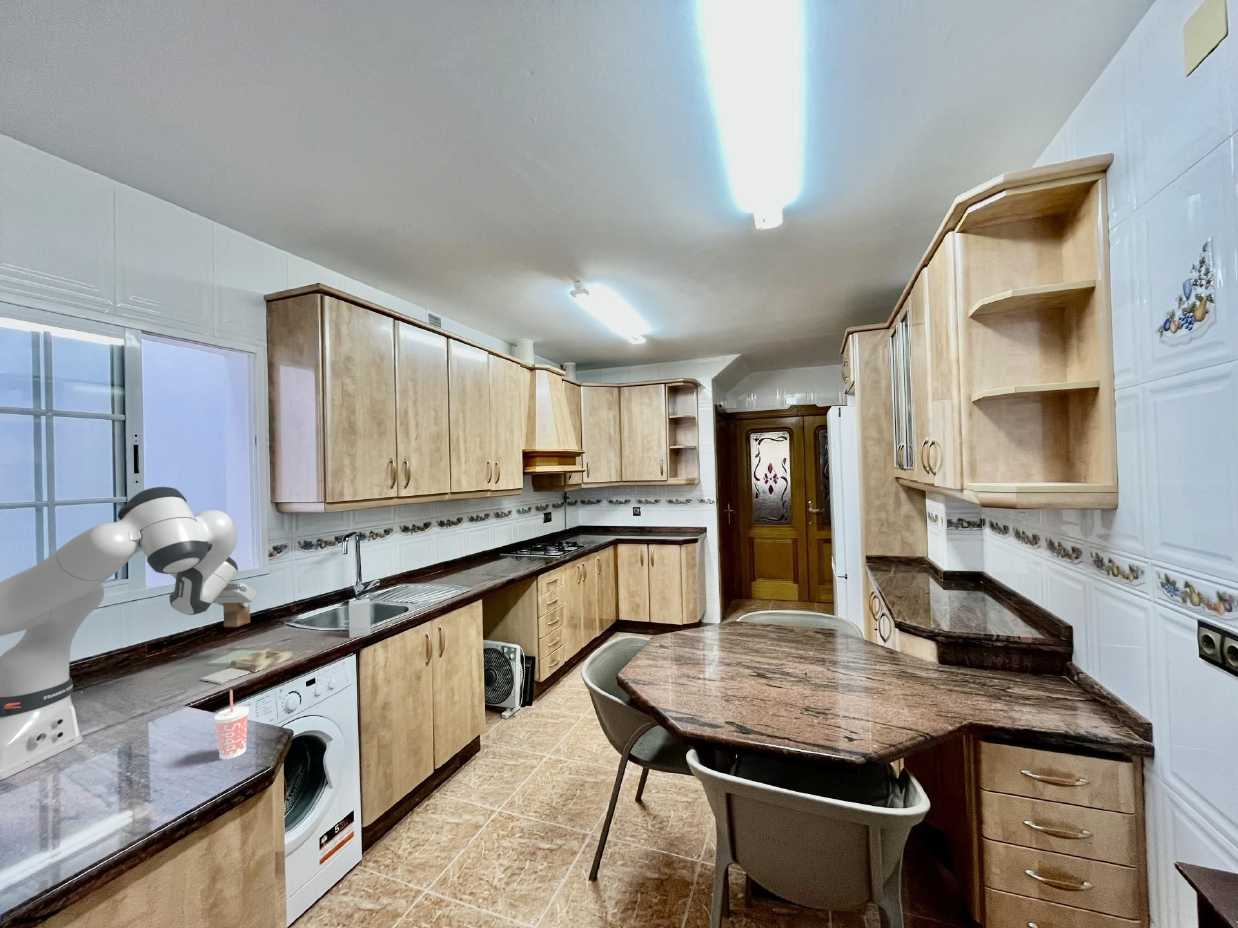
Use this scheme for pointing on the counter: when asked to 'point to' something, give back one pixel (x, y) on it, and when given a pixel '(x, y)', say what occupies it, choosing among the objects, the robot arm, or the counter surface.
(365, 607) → the supplement box
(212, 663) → the coaster
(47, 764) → the counter surface
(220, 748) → the beverage cup
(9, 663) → the robot arm
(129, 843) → the counter surface
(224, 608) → the walnut block
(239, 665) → the puzzle board
